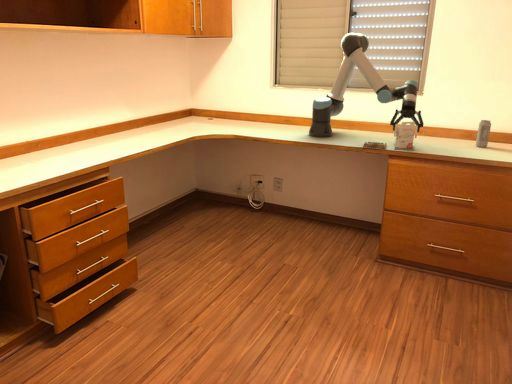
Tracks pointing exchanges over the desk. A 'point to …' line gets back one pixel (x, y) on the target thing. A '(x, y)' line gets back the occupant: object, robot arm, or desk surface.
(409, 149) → the mat
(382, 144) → the holder
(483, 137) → the grey tall block
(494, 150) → the desk surface
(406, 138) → the ink cartridge box
